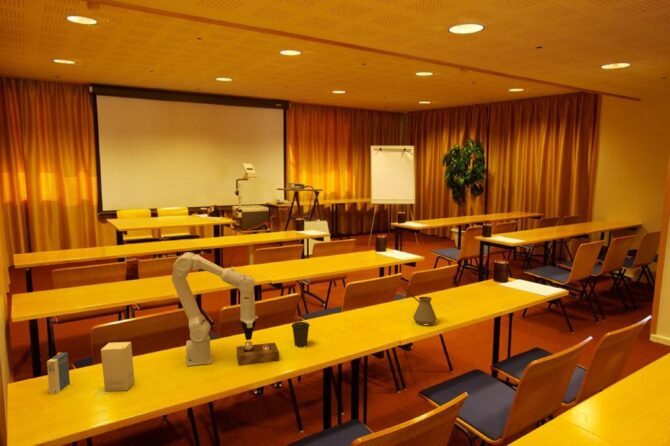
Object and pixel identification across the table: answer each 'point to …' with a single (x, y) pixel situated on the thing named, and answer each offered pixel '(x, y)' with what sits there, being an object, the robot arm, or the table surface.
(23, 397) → the table surface
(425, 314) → the coffee pot
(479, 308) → the table surface
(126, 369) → the skincare box
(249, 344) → the peg left
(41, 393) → the table surface
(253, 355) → the socket block
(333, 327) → the table surface
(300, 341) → the coffee cup
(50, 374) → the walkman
